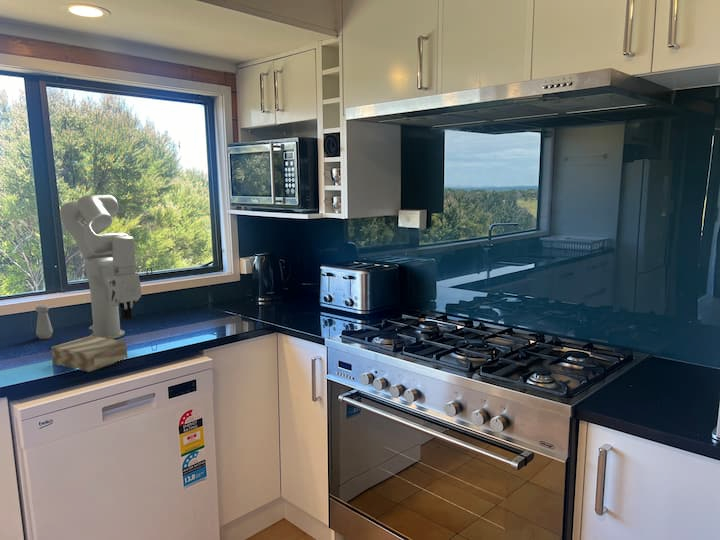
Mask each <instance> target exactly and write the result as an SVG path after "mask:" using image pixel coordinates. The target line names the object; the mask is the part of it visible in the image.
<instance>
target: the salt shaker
mask: <svg viewBox="0 0 720 540" xmlns="http://www.w3.org/2000/svg"><path fill="white" fill-rule="evenodd" d="M49 309H50V308H49V305H48V304H47V305H45V304H41V305H37V306H36V307H35V312H36V313H37V321H36V329H35V334H36V336H37V337H38V338H39V340H46V339H50V338H52V337H53V336H52V335H53V333H54V329H53V327H52V323H51V320H50V316H49V313H48V312H49Z"/></svg>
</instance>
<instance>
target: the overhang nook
mask: <svg viewBox="0 0 720 540" xmlns="http://www.w3.org/2000/svg"><path fill="white" fill-rule="evenodd" d="M51 357H52V364H53V365H56V364H57V365H56V366H60V365H62V366H61V367H65V366H68V367H67V368H69V367H73V368H72V369H74V368H79V369H82V370H81V371H83V372H87V373H90V372H94V371H96V370H98V369H101V368H104V367H107V366H110V365H112V364H116V363H118V362H117V361H119V360H121V359H124V358H127V359H128V346H127V341H123V340H117V339H107V338H102V337H96V336H90V335H88V336H84V337H81V338H78V339H75V340H70V341H67V342H63V343H60V344H57V345H53V346H51ZM124 360H125V359H124ZM115 362H116V363H115ZM119 362H120V361H119Z"/></svg>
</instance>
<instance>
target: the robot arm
mask: <svg viewBox="0 0 720 540" xmlns="http://www.w3.org/2000/svg"><path fill="white" fill-rule="evenodd" d="M59 213H60V218H61V222H62V224H63V226H64V228H65V229H66V231H67V233H68V234H70V236H72V238H73V239H74V241H75V243H76V245H77V247H78V249H79V252H80V254H81V255H82V257H83V259H84V260H85V261H86V264H85V273H86V278H87V280H88V284H89V285H88V286H89V291H90V302H91V303H90V304H91V313H92V325H90V326H89V327H88V329H89V330H91V331H92V333H90V335H89V336H96V337H102V338H107V339H113V340H117V339H119V338H122V337H124V336H125V333H126V332H125V330H123V329H121V321H120V311H119V309H121V318H122V319H123V320H127V321H128V320H131V319H132V317H133V316H132V309H133V307H134V304H135V303H136V302H138V301H139V300H140V298H141V297H142V286H141V281H140V276H139V272H137V269H136V264H137V263H136V246H135V245H136V244H135V242H136V241H135V239H134V237H133V236H131V235H129V234H127V232H126V233H125V232H107V233H104V231H107V230H108V229H109V228H110V227H111V225H112V223H113V217H115V216H116V215H117V214H118V213H119V203H118V200H117V199H116V198H115V196H113V195H110V194H87V195H84V196H82V197H80V198H78V200H75V201H68V202H65V203H63V204H62V205H61V207H60V211H59ZM85 222H86V223H85Z"/></svg>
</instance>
